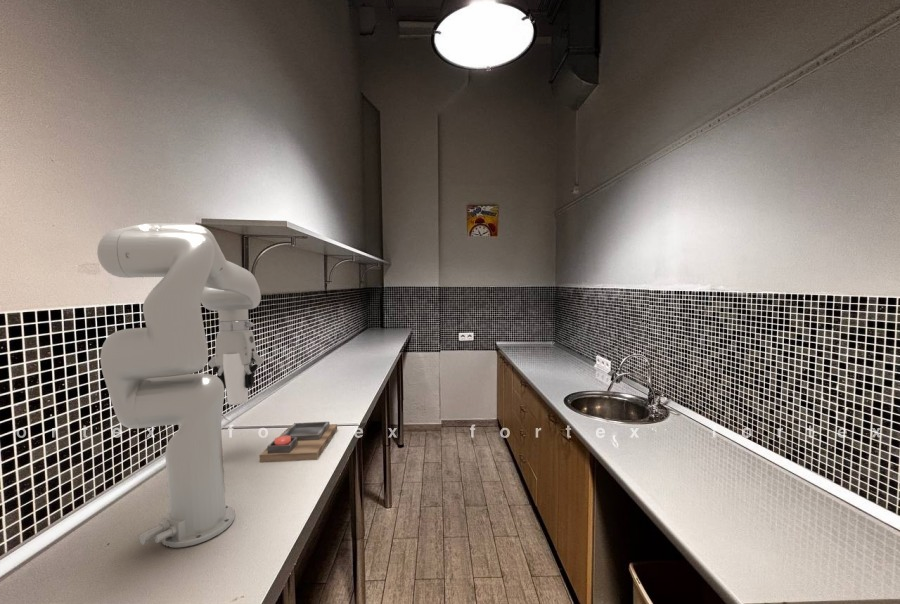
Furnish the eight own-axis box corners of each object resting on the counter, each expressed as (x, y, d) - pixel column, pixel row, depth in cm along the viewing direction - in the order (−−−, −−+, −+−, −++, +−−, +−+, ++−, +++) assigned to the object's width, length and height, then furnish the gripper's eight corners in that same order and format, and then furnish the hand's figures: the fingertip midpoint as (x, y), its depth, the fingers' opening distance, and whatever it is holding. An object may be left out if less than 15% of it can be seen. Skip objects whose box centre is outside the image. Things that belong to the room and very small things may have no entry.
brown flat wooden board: (317, 459, 107) (316, 445, 106) (259, 462, 106) (258, 448, 106) (337, 430, 128) (336, 418, 128) (289, 432, 128) (289, 420, 128)
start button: (287, 449, 108) (287, 441, 108) (272, 450, 108) (271, 441, 108) (293, 442, 112) (293, 435, 112) (278, 443, 112) (278, 435, 112)
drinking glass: (229, 407, 106) (226, 354, 106) (221, 403, 111) (219, 353, 110) (254, 402, 111) (252, 351, 111) (246, 398, 116) (243, 350, 115)
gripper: (269, 324, 115) (272, 383, 115) (211, 327, 114) (214, 386, 114) (258, 326, 107) (261, 389, 107) (196, 329, 106) (199, 392, 107)
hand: (237, 387), depth 111 cm, fingers closed on drinking glass, 6 cm apart
